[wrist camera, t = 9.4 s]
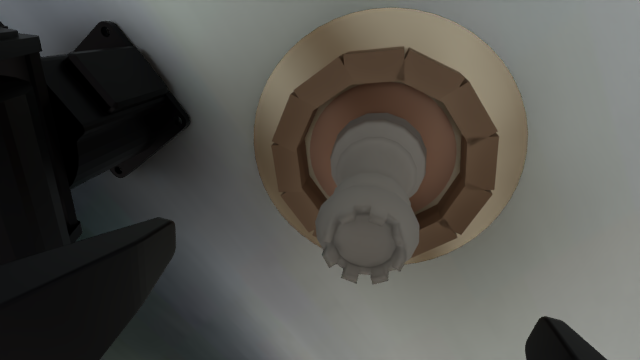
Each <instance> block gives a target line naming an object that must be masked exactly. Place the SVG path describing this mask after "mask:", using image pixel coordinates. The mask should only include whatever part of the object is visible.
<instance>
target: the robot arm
mask: <svg viewBox="0 0 640 360" xmlns="http://www.w3.org/2000/svg"><path fill="white" fill-rule="evenodd" d="M107 28H108V29H109V31H110V35H108V34H107V30H106V29H107ZM40 51H42V48H41V43H40V39H39V36H37V35H28V34H20V33H18V31H17V30H13V29H8V26H4V25H3V24H2V23H1V22H0V360H100V359H101V357H102V356H103V355H104V353H105V352H106V351H107V350H108V348H109V347H110V346H111V345H112V343H113V342H114V341H115V339H116V338H117V337H118V336H119V334H120V333H121V332H122V331H123V329H124V328H125V327H126V325H127V324H128V323H129V322H130V320H131V319H132V318H133V317H134V315H135V314H136V313H137V311H138V310H139V309H140V307H141V306H142V304H143V303H144V301H145V300H146V298H147V297H148V295H149V294H150V292H151V291H152V289H153V287H154V286H155V284H156V283H157V281H158V279H159V278H160V276H161V275H162V273H163V271H164V270H165V268H166V267H167V265H168V264H169V262H170V260H171V259H172V257H173V255H174V253H175V249H176V234H175V223H174V222H173V221H172V220H168V219H164V218H160V217H157V218H154V219H150V220H147V221H144V222H140V223H137V224H134V225H131V226H127V227H124V228H121V229H117V230H114V231H111V232H107V233H104V234H101V235H97V236H94V237H91V238H88V239H84V240H81V241H78V242H75V241H76V240H77V239H78V237H79V236H80V235H81V233H82V228H81V223H80V221H78V220H77V217H76V213H75V209H74V204H73V200H72V195H71V191H70V189H72V188H74V187H76V186H78V185H80V184H82V183H84V182H86V181H88V180H89V179H91V178H93V177H95V176H97V175H99V174H101V173H103V172H105V171H107V170H110V171H111V172H112V173H113V174H114V175H115V176H116V177H119V178H123V177H125V176H127V175H128V174H130V173H131V172H132V171H133V170H135V169H136V168H137V167H138V166H140V165H141V164H142V163H143V162H144V161H146V160H147V159H148V158H149V157H151V156H152V155H153V154H154V153H156V152H157V151H158V150H159V149H160V148H162V147H163V146H164V145H165V144H167V143H168V142H169V141H170V140H172V139H173V138H174V137H175V136H177V135H178V134H179V133H180V132H181V131H183V130H184V129H185V128H186V127H188V125H189V123H190V119H189V116H188V115H187V113H186V112H185V111H184V109H183V108H182V107H181V106H180V104H179V103H178V102H177V101H176V99H175V98H174V97H173V96H172V94H171V93H170V92H169V91H168V89H167V86H166V85H165V84H164V82H163V81H162V80H161V79H160V77H159V76H158V75H157V74H156V72H155V71H154V70H153V69H152V67H151V66H150V65H149V63H148V62H147V61H146V60H145V58H144V57H143V56H142V55H141V53H140V52H139V51H138V50H137V48H135V47H133V46H132V44H131V43H130V42H129V40H128V39H127V38H126V37H125V35H124V34H123V33H122V32H121V30H120V29H119V28H118V27H117V25H115V24H114V23H113V22H111V21H101V22H100V23H98V24H97V25H96V27H95V28H94V29H93V30H92V31H91V32H90V33H89V35H88V36H87V37H86V38H85V39H84V40H83V41H82V43H81V44H80V45H79V46H78V47H77V48H76V49H75V51H74V52H71V53H69V54H64V55H56V56H47V57H40V53H39V52H40ZM177 117H179V118H181V120H182V124H181V123H179V122H178V120H177ZM119 167H120V168H121V169H122V171H121V170H120V168H119ZM525 353H526V360H607V359H606V358H605V357H604V356H602V355H601V354H600V353H599V352H598V351H597V350H596V349H594V348H593V347H592V346H591V345H590V344H589V343H588V342H586V341H585V340H584V339H583V338H582V337H581V336H580V335H578V334H577V333H576V332H575V331H574V330H573V329H572V328H570V327H569V326H568V325H567V324H566V323H565V322H563V321H561V320H558V319H554V318H550V317H546V316H544V317H541V318H540V319H539V320H538V322H537V323H536V325H535V327H534V329H533V330H532V332H531V334H530V336H529V337H528V339H527V341H526V345H525Z"/></svg>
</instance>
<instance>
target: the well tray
mask: <svg viewBox="0 0 640 360" xmlns="http://www.w3.org/2000/svg"><path fill="white" fill-rule="evenodd" d="M367 113H389V114H392V115H394V116H397V117H400V118H403V119H405V120H406V121H408V122H409V123H410V124H411V125H412V126H413V127H414V128H415V129H416V130H417V131H418V132H419V133H420V135H421V137H422V140H423V142H424V145H425V147H426V149H427V153H426V174H425V176H424V178H423V180H422V182H421V184H420V186H419V188H418V190H417V192H416V193H415V194H414V195H413V196H411V197H410V198H409V200H410V203H411V208H412V210H413V212H414V214H415V216H416V218H417V221H418V223H419V244H418V246H417V247H416V249H415V251H414V253H413V255H412V257H411V258H410V259H409V260H408V261H406V262H405V264H411V263H418V262H422V261H426V260H430V259H433V258H436V257H439V256H442V255H445V254H447V253H449V252H451V251H453V250H455V249H457V248H459V247H461V246H463V245H464V244H466V243H467V242H469V241H471V240H472V239H474V238H475V237H476V236H478V235H479V234H480V233H481V232H482V231H484V230H485V229H486V228H487V227H488V226H489V225H490V224H491V223H492V222H493V221H494V220H495V219H496V218H497V216H498V215H499V214H500V213H501V212H502V210H503V209H504V207H505V206H506V204H507V203H508V202H509V200H510V198H511V196H512V195H513V193H514V191H515V189H516V187H517V185H518V182H519V179H520V177H521V174H522V171H523V168H524V163H525V158H526V153H527V139H528V129H527V120H526V112H525V109H524V105H523V101H522V97H521V94H520V92H519V90H518V88H517V85H516V83H515V81H514V79H513V77H512V75H511V74H510V72H509V70H508V69H507V67H506V66H505V64H504V63H503V61H502V60H501V59H500V58H499V57H498V56H497V54H496V53H495V52H494V51H493V50H492V49H491V48H490V47H489V46H488V45H487V44H486V43H485V42H483V41H482V40H481V39H480V38H479V37H477V36H476V35H475V34H474V33H472V32H471V31H469V30H467V29H466V28H464V27H462V26H460V25H459V24H457V23H455V22H453V21H451V20H448V19H446V18H443V17H441V16H438V15H436V14H432V13H428V12H423V11H419V10H415V9H404V8H376V9H369V10H364V11H359V12H354V13H351V14H348V15H345V16H342V17H339V18H336V19H334V20H332V21H330V22H328V23H326V24H324V25H322V26H320V27H318V28H317V29H315V30H314V31H312V32H311V33H309V34H308V35H306V36H305V37H304V38H302V39H301V40H300V41H299V42H298V43H297V44H296V45H295V46H293V47H292V48H291V49H290V50H289V51H288V52H287V53H286V55H285V56H284V57H283V58H282V60H281V61H280V62H279V63H278V64H277V66H276V67H275V69H274V71H273V72H272V74H271V76H270V77H269V79H268V81H267V83H266V85H265V87H264V90H263V92H262V94H261V97H260V100H259V104H258V107H257V111H256V117H255V124H254V149H255V158H256V162H257V166H258V170H259V174H260V177H261V179H262V182H263V185H264V187H265V189H266V191H267V193H268V195H269V197H270V199H271V200H272V202H273V203H274V205H275V206H276V208H277V209H278V211H279V212H280V213H281V215H282V216H283V217H284V218H285V219H286V220H287V221H288V223H289V224H290V225H291V226H293V227H294V228H295V229H296V230H297V231H298V232H299V233H300V234H301V235H303V236H304V237H306V238H307V239H308V240H310V241H311V242H313V243H314V244H316V245H318V246H319V247H321V245H320V243H319V242H318V240H317V235H316V225H315V221H316V218H317V215H318V213H319V210H320V207H321V205H322V204H323V203H324V202H325V201H326V200H327V199H328V198H329V197H330V196H331V195H332V194H333V193H334V191H335V188H336V187H337V185H336V183H335V181H334V179H333V177H332V174H331V161H330V157H331V154H332V149H333V146H334V144H335V141H336V138H337V135H338V134H339V133H340V132H341V130H342V129H343V128H344V127H345V126H346V125H347V124H348V123H349V122H350V121H352V120H354V119H356V118H358V117H361V116H363V115H365V114H367ZM321 248H322V247H321Z"/></svg>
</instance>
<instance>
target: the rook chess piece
mask: <svg viewBox="0 0 640 360" xmlns="http://www.w3.org/2000/svg"><path fill="white" fill-rule="evenodd" d="M426 153H427V149H426V147H425V145H424V142H423V140H422V137H421V135H420V133H419V132H418V131H417V130H416V129H415V128H414V127H413V126H412V125H411V124H410V123H409V122H408V121H406V120H405V119H403V118H400V117H397V116H394V115H392V114H389V113H367V114H365V115H363V116H361V117H358V118H356V119H354V120H352V121H350V122H349V123H348V124H347V125H346V126H345V127H344V128H343V129H342V130H341V132H340V133H339V134H338V135H337V138H336V141H335V144H334V146H333V149H332V154H331V157H330V161H331V174H332V177H333V179H334V181H335V183H336V185H337V187H336V188H335V191H334V193H333V194H332V195H331V196H330V197H329V198H328V199H327V200H326V201H325V202H324V203H323V204H322V205H321V207H320V210H319V213H318V215H317V218H316V221H315V225H316V235H317V240H318V242H319V243H320V245H321V247H322V249H323V250H324V251H323V254H322V256H323V257H324V259H325V261H326V263H327V264H328V266H329V268H330V267H332V266H334V265H335V264H338V265H339V266H340V267H342V268H344V269H343V273H342V277H341V278H344V279H346V280H349V281H351V282H354V283H356V284H357V279H358V274H365V275H371V280H372V284H377V283H381V282H385V281H388V272H389V271H392V270H398V271H401V269H402V267H403V265H404V264H405V262H406V261H408V260H409V259H410V258H411V257H412V255H413V253H414V251H415V249H416V247H417V246H418V244H419V223H418V221H417V218H416V216H415V214H414V212H413V210H412V208H411V203H410V200H409V198H410V197H411V196H413V195H414V194H415V193H416V192H417V190H418V188H419V186H420V184H421V182H422V180H423V178H424V176H425V174H426Z"/></svg>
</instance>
